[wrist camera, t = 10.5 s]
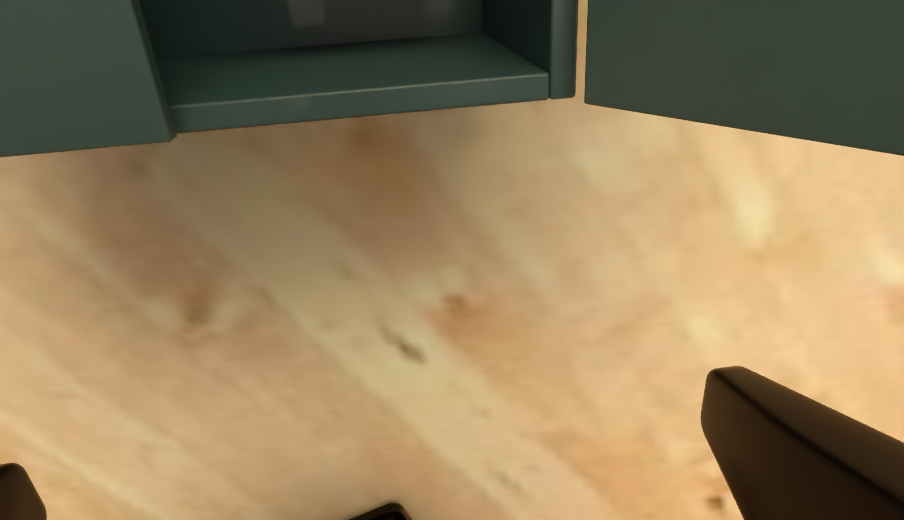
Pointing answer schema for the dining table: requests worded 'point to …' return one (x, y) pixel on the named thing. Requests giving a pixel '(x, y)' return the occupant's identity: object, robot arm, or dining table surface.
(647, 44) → the flap
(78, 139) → the carton
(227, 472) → the dining table surface
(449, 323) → the dining table surface
